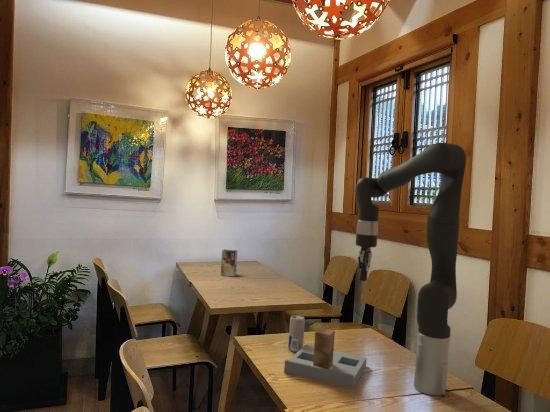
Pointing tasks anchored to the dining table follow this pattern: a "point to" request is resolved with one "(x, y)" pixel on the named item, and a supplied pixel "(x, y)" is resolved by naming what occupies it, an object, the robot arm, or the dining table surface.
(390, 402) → the dining table surface
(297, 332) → the energy drink
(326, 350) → the walnut block
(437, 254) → the robot arm
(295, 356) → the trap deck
